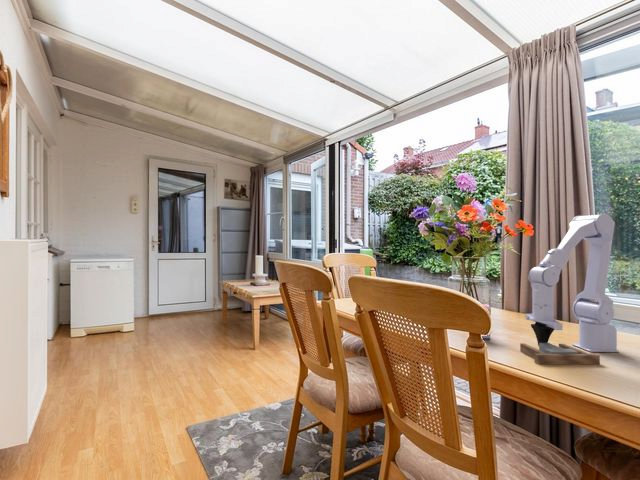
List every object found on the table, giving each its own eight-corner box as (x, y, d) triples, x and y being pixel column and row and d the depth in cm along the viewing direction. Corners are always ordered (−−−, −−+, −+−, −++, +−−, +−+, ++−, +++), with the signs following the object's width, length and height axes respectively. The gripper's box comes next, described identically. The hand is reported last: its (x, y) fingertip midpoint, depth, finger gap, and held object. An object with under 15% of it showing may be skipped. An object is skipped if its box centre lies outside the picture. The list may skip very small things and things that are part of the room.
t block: (556, 352, 108) (556, 342, 108) (578, 362, 99) (578, 351, 99) (531, 352, 108) (531, 342, 108) (551, 362, 99) (551, 351, 99)
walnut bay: (569, 351, 109) (569, 343, 109) (599, 364, 98) (599, 355, 98) (514, 351, 109) (514, 343, 109) (537, 364, 97) (537, 355, 98)
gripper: (516, 300, 116) (516, 340, 116) (546, 308, 102) (545, 354, 101) (537, 300, 116) (537, 340, 116) (569, 309, 102) (569, 354, 102)
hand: (542, 347), depth 109 cm, fingers closed
